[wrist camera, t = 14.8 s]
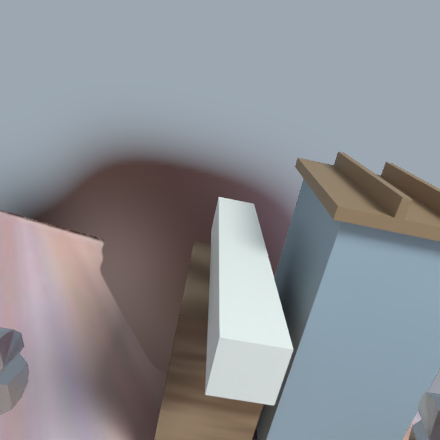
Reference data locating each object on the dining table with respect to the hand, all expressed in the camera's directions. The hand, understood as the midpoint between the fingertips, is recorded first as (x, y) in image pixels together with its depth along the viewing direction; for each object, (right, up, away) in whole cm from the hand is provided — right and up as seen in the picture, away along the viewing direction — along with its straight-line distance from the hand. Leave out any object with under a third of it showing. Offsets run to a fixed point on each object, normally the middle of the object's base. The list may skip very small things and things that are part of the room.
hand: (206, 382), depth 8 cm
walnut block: (-2, -17, +32) cm, 36 cm away
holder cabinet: (+10, -18, +35) cm, 41 cm away
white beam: (+1, -3, +25) cm, 25 cm away
